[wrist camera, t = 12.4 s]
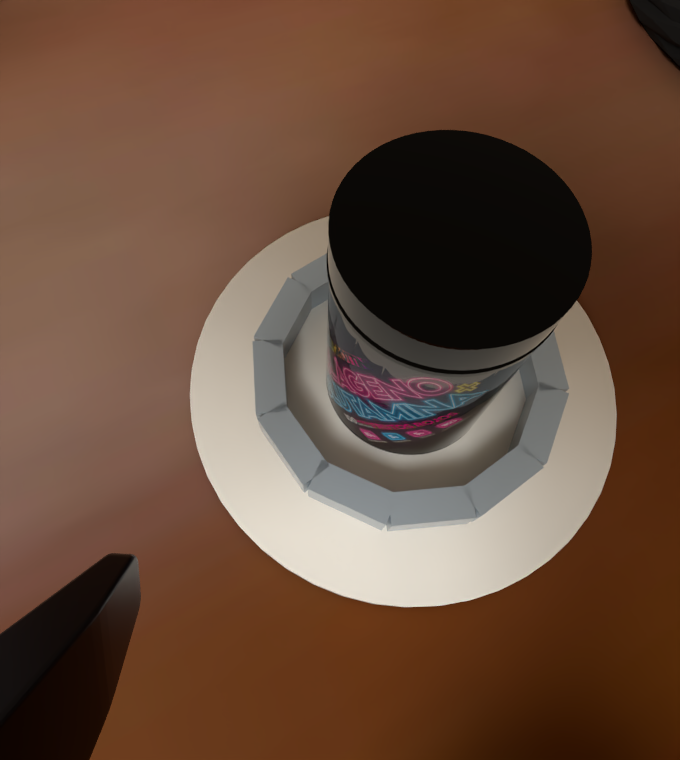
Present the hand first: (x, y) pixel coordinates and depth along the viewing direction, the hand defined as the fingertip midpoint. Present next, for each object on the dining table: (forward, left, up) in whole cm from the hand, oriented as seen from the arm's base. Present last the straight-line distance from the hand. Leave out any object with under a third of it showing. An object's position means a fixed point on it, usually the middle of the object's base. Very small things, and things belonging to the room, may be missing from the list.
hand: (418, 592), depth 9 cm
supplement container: (+8, -3, -13) cm, 16 cm away
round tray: (+9, -3, -14) cm, 16 cm away
